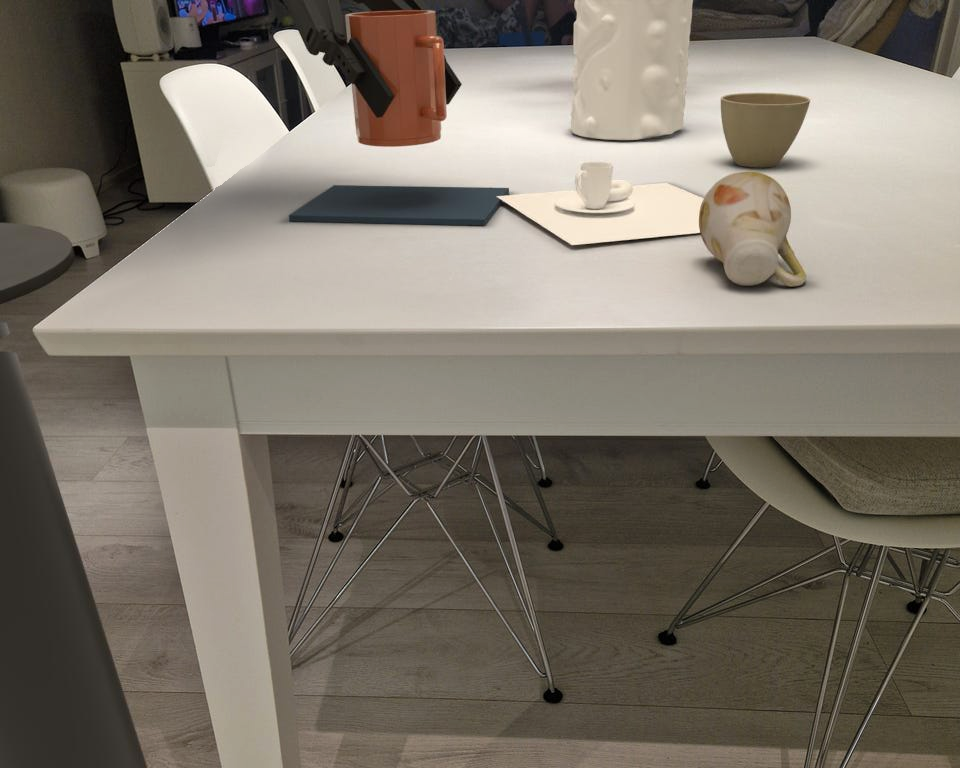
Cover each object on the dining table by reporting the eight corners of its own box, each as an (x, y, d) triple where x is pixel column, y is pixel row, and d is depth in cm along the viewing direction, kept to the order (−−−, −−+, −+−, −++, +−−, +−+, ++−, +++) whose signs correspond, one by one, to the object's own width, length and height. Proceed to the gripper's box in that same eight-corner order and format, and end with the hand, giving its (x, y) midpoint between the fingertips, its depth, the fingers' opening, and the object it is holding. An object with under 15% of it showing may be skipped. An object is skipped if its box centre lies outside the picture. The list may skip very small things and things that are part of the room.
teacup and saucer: (619, 195, 96) (622, 154, 94) (655, 213, 90) (659, 168, 88) (541, 202, 94) (543, 159, 92) (573, 220, 87) (575, 175, 85)
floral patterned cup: (705, 298, 69) (687, 164, 69) (712, 315, 79) (696, 198, 78) (810, 276, 67) (792, 138, 66) (804, 297, 76) (788, 176, 76)
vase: (559, 125, 138) (563, -141, 120) (665, 120, 139) (685, -144, 121) (580, 145, 123) (589, -154, 106) (698, 139, 124) (727, -157, 107)
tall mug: (341, 140, 93) (328, 14, 87) (405, 129, 98) (397, 9, 91) (412, 153, 86) (403, 17, 80) (478, 140, 90) (474, 11, 84)
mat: (289, 221, 92) (288, 215, 92) (334, 190, 104) (333, 185, 103) (484, 225, 89) (484, 219, 88) (509, 193, 100) (509, 187, 100)
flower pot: (746, 175, 105) (755, 106, 101) (697, 160, 112) (704, 96, 108) (818, 166, 108) (829, 99, 104) (765, 153, 115) (774, 89, 111)
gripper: (357, -61, 98) (473, 113, 98) (187, -57, 85) (321, 145, 85) (387, -126, 93) (511, 60, 92) (209, -133, 79) (353, 84, 79)
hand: (420, 100), depth 89 cm, fingers closed on tall mug, 8 cm apart
